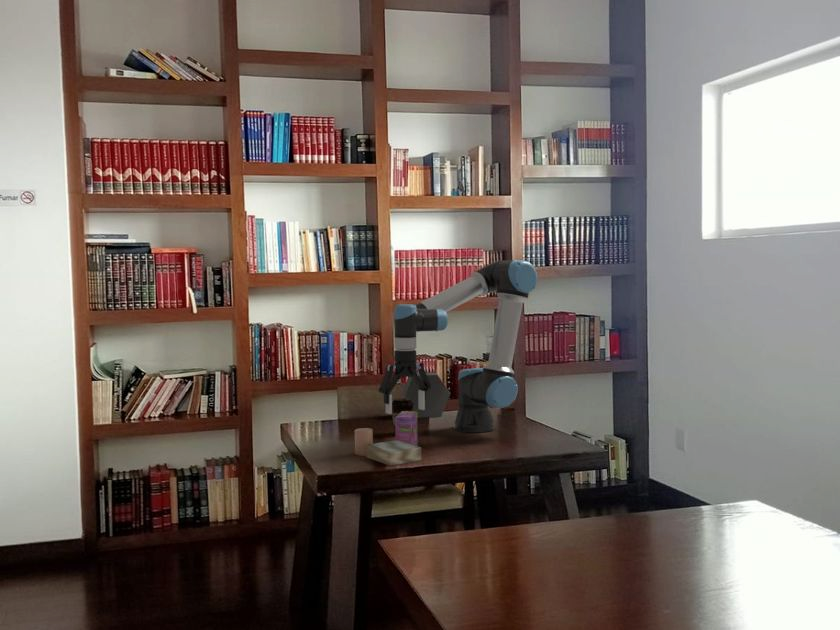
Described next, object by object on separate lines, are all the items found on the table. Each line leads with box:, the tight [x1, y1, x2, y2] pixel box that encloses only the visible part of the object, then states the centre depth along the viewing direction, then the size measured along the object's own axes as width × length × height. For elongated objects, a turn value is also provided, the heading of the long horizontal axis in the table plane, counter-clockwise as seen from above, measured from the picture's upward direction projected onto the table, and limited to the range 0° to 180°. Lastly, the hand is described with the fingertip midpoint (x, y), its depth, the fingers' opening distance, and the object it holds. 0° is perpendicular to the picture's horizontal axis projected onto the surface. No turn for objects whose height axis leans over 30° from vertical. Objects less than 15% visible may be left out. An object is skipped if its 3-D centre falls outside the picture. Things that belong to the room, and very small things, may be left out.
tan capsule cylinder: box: [354, 427, 374, 457], centre depth 275 cm, size 6×6×8 cm
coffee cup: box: [391, 397, 414, 434], centre depth 306 cm, size 9×8×13 cm
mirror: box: [366, 439, 422, 466], centre depth 268 cm, size 12×14×4 cm
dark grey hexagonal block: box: [400, 371, 451, 419], centre depth 340 cm, size 17×8×21 cm
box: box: [394, 411, 418, 446], centre depth 283 cm, size 10×6×12 cm, turn 168°
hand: (405, 411), depth 282 cm, fingers open, 13 cm apart
